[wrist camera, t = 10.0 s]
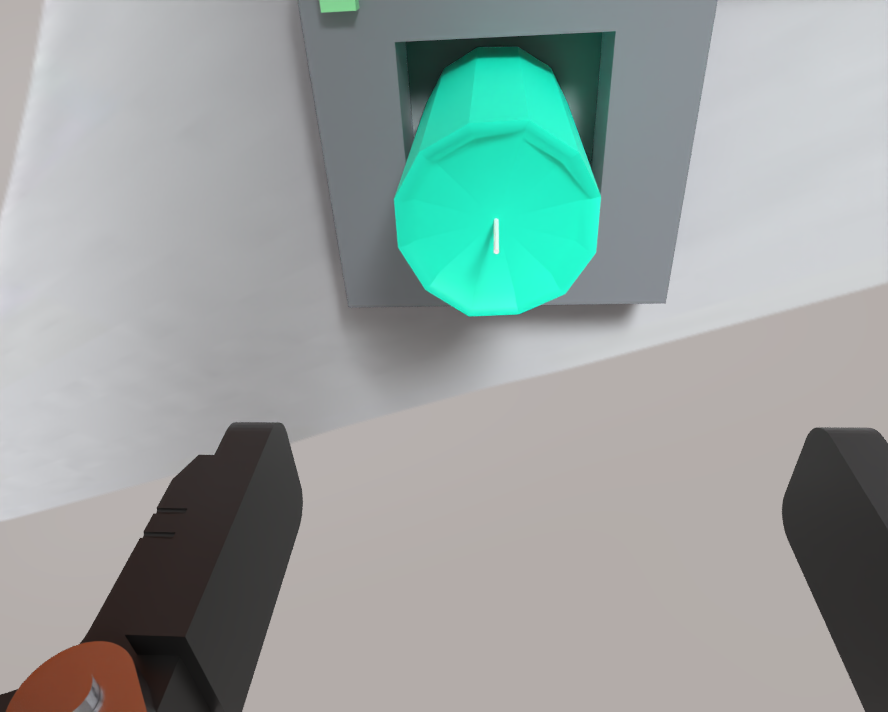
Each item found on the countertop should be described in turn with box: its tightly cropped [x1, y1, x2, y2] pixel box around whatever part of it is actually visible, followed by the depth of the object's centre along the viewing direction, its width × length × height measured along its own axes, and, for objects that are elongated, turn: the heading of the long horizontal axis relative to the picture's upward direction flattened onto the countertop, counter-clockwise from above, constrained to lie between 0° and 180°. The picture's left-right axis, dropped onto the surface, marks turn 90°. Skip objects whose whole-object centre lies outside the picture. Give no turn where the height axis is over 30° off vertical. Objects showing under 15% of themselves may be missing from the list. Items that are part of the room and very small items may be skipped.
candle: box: [394, 46, 601, 316], centre depth 22 cm, size 6×6×12 cm
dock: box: [298, 0, 718, 307], centre depth 25 cm, size 14×14×4 cm
